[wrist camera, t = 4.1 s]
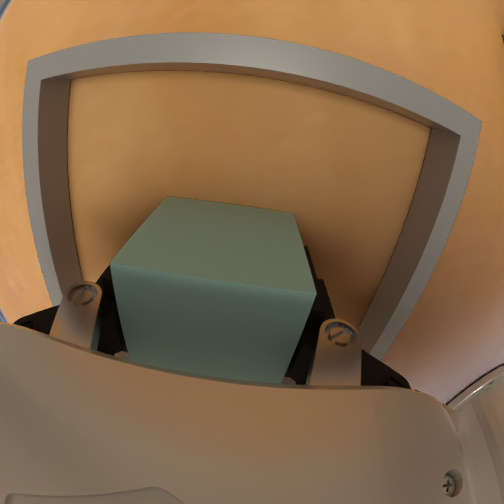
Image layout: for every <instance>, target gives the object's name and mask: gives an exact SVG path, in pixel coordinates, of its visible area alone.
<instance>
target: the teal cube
mask: <svg viewBox="0 0 504 504" xmlns="http://www.w3.org/2000/svg"><path fill="white" fill-rule="evenodd" d="M110 268H111V274H112V281H113V286H114V292H115V298H116V303H117V308H118V313H119V317H120V322H121V326H122V330H123V335H124V339H125V343H126V347H127V350H128V354H129V358H130V360H132V361H136V362H140V363H144V364H149V365H153V366H158V367H162V368H167V369H172V370H177V371H183V372H188V373H194V374H200V375H207V376H213V377H220V378H228V379H236V380H245V381H254V382H265V383H279V384H281V382H282V380H283V377H284V375H285V373H286V371H287V368H288V366H289V363H290V361H291V359H292V356H293V354H294V351H295V349H296V346H297V344H298V341H299V339H300V336H301V334H302V331H303V329H304V326H305V323H306V321H307V318H308V316H309V313H310V310H311V307H312V305H313V302H314V299H315V296H316V294H317V293H316V289H315V285H314V281H313V278H312V274H311V271H310V267H309V264H308V260H307V257H306V253H305V250H304V246H303V243H302V240H301V236H300V233H299V230H298V227H297V223H296V220H295V217H294V214H293V213H287V212H281V211H275V210H268V209H262V208H255V207H248V206H242V205H235V204H227V203H220V202H212V201H205V200H197V199H188V198H180V197H171V196H167V197H166V198H165V199H164V200H163V202H162V203H161V204H160V205H159V206H158V207H157V208H156V209H155V210H154V211H153V212H152V213H151V215H150V216H149V217H148V218H147V219H146V220H145V221H144V222H143V224H142V225H141V226H140V227H139V228H138V229H137V230H136V232H135V233H134V234H133V235H132V236H131V237H130V239H129V240H128V241H127V242H126V243H125V245H124V246H123V247H122V248H121V249H120V251H119V252H118V253H117V254H116V256H115V257H114V258H113V259H112V260H111V262H110Z"/></svg>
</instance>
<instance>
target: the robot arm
mask: <svg viewBox="0 0 504 504" xmlns="http://www.w3.org/2000/svg"><path fill="white" fill-rule="evenodd" d="M304 250H305V253H306V257H307V260H308V264H309V267H310V271H311V274H312V278H313V281H314V285H315V289H316V293H317V294H316V296H315V299H314V302H313V305H312V307H311V310H310V313H309V316H308V318H307V321H306V323H305V326H304V329H303V331H302V334H301V336H300V339H299V341H298V344H297V346H296V349H295V351H294V354H293V356H292V359H291V361H290V363H289V366H288V368H287V371H286V373H285V375H284V377H290V378H291V379H292V380H294V381H295V383H294V384H279V383H265V382H254V381H245V380H236V379H228V378H220V377H213V376H207V375H200V374H194V373H188V372H183V371H177V370H172V369H167V368H162V367H158V366H153V365H149V364H144V363H140V362H136V361H132V360H128V359H124V358H120V357H118V352H121V351H123V352H127V353H128V350H127V347H126V343H125V339H124V335H123V330H122V326H121V322H120V317H119V313H118V308H117V303H116V298H115V292H114V286H113V281H112V274H111V268H110V265H109V266H108V267H107V269H106V270H105V271H104V272H103V274H102V275H101V276H100V278H99V279H98V280H97V282H96V283H93V282H88V281H85V282H79V283H75V284H74V285H72V286H70V287H69V288H68V289H67V290H66V291H65V293H64V295H63V298H62V300H61V303H60V305H57V306H54V307H51V308H48V309H45V310H42V311H39V312H36V313H33V314H30V315H27V316H25V317H22V318H20V319H18V320H17V321H16V322H14V323H13V324H10V323H4V322H0V504H504V365H503V366H501V367H499V368H497V369H495V370H494V371H492V372H490V373H489V374H487V375H486V376H484V377H483V378H481V379H480V380H478V381H477V382H475V383H474V384H473V385H471V386H470V387H469V388H467V389H466V390H465V391H464V392H462V393H461V394H460V395H458V396H457V397H456V398H455V399H454V400H452V401H451V402H450V403H449V404H448V405H447V406H446V405H444V404H442V403H440V402H439V401H438V400H437V399H435V398H434V397H432V396H430V395H427V394H425V393H422V392H420V391H418V390H411V387H410V385H409V383H408V382H407V380H406V379H405V378H404V377H403V376H401V375H400V374H399V373H397V372H396V371H394V370H393V369H391V368H390V367H388V366H387V365H385V364H384V363H382V362H381V361H379V360H378V359H376V358H375V357H373V356H372V355H370V354H369V353H367V352H366V351H364V350H363V349H361V335H360V333H359V331H358V329H357V328H356V327H355V326H354V325H352V324H351V323H349V322H347V321H345V320H342V319H335V315H334V312H333V309H332V306H331V302H330V299H329V296H328V293H327V290H326V287H325V283H324V281H323V280H322V279H318V278H317V277H316V273H315V270H314V267H313V264H312V260H311V257H310V254H309V251H308V248H307V246H304Z"/></svg>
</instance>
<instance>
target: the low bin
mask: <svg viewBox="0 0 504 504" xmlns="http://www.w3.org/2000/svg"><path fill="white" fill-rule="evenodd" d="M159 70H185V71H209V72H222V73H233V74H242V75H250V76H258V77H265V78H271V79H277V80H282V81H288V82H293V83H298V84H302V85H307V86H311V87H316V88H320V89H324V90H328V91H331V92H335V93H339V94H342V95H346V96H349V97H352V98H356V99H359V100H362V101H365V102H368V103H371V104H374V105H377V106H379V107H382V108H385V109H388V110H390V111H393V112H396V113H398V114H401V115H403V116H405V117H408V118H410V119H413V120H415V121H417V122H420V123H422V124H424V125H426V126H428V127H430V128H432V130H431V135H430V139H429V143H428V148H427V152H426V156H425V160H424V163H423V167H422V171H421V174H420V178H419V181H418V185H417V188H416V191H415V194H414V197H413V201H412V204H411V207H410V210H409V212H408V215H407V218H406V221H405V224H404V227H403V229H402V232H401V235H400V237H399V240H398V242H397V245H396V248H395V250H394V253H393V255H392V257H391V260H390V262H389V265H388V267H387V269H386V272H385V274H384V276H383V278H382V281H381V283H380V285H379V287H378V289H377V291H376V294H375V296H374V298H373V300H372V302H371V304H370V306H369V308H368V310H367V312H366V314H365V316H364V318H363V320H362V322H361V324H360V326H359V328H358V331H359V333H360V335H361V349H363V350H364V351H366V352H367V353H369V354H370V355H372V356H373V357H375V358H376V359H378V360H379V361H381V360H382V358H383V357H384V355H385V354H386V352H387V351H388V349H389V348H390V346H391V345H392V343H393V342H394V340H395V339H396V337H397V336H398V334H399V332H400V331H401V329H402V328H403V326H404V324H405V323H406V321H407V319H408V318H409V316H410V314H411V312H412V311H413V309H414V307H415V305H416V304H417V302H418V300H419V298H420V296H421V294H422V293H423V291H424V289H425V287H426V285H427V283H428V281H429V279H430V277H431V275H432V273H433V271H434V269H435V267H436V264H437V262H438V260H439V258H440V256H441V253H442V251H443V249H444V247H445V244H446V242H447V240H448V237H449V235H450V232H451V230H452V227H453V225H454V222H455V219H456V217H457V214H458V211H459V208H460V205H461V202H462V199H463V196H464V193H465V190H466V187H467V184H468V180H469V177H470V173H471V169H472V166H473V162H474V158H475V154H476V149H477V145H478V140H479V135H480V130H481V125H482V121H481V120H479V119H478V118H476V117H475V116H473V115H472V114H470V113H468V112H467V111H465V110H464V109H462V108H460V107H459V106H457V105H456V104H454V103H452V102H450V101H449V100H447V99H445V98H443V97H442V96H440V95H438V94H436V93H434V92H432V91H430V90H428V89H426V88H424V87H422V86H420V85H418V84H416V83H414V82H412V81H410V80H408V79H405V78H403V77H401V76H399V75H396V74H394V73H392V72H389V71H387V70H384V69H382V68H379V67H376V66H374V65H371V64H368V63H365V62H363V61H360V60H357V59H354V58H350V57H347V56H344V55H341V54H337V53H334V52H330V51H327V50H323V49H319V48H315V47H311V46H306V45H302V44H297V43H292V42H287V41H281V40H275V39H269V38H262V37H254V36H246V35H235V34H221V33H161V34H147V35H137V36H128V37H121V38H114V39H108V40H102V41H97V42H92V43H87V44H83V45H79V46H75V47H71V48H67V49H63V50H60V51H56V52H53V53H50V54H46V55H43V56H40V57H37V58H34V59H32V60H29V61H28V65H27V72H26V79H25V89H24V100H23V121H22V145H23V166H24V178H25V188H26V196H27V204H28V210H29V216H30V222H31V227H32V232H33V237H34V242H35V246H36V250H37V255H38V259H39V262H40V266H41V270H42V273H43V277H44V280H45V283H46V287H47V290H48V293H49V296H50V299H51V302H52V305H53V307H54V306H57V305H60V303H61V300H62V298H63V295H64V293H65V291H66V290H67V289H68V288H69V287H70V286H72V285H74V284H75V283H79V282H83V279H82V275H81V270H80V266H79V261H78V255H77V250H76V244H75V238H74V231H73V224H72V217H71V208H70V198H69V186H68V168H67V120H68V103H69V91H70V82H71V79H76V78H82V77H88V76H95V75H103V74H112V73H122V72H135V71H159ZM118 357H120V358H124V359H128V360H130V358H129V354H128V353H127V352H123V351H121V352H118ZM294 383H295V381H294V380H292V379H291V378H290V377H283V380H282V382H281V384H294Z"/></svg>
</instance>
